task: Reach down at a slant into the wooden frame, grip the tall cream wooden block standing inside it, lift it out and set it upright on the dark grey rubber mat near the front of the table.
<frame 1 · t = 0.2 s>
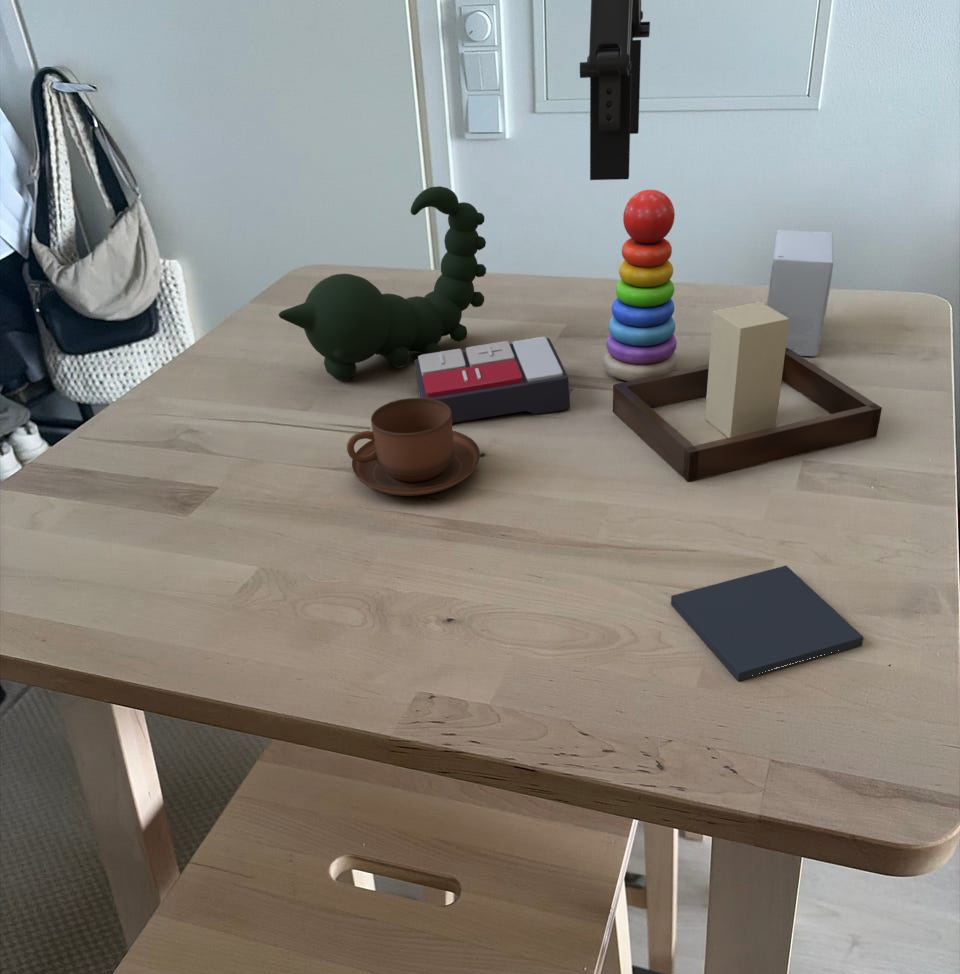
hand: (615, 154, 78), 27 cm above the table, tool pointing down, fingers open, 13 cm apart
stacking toy: (639, 371, 113), on the table
block: (744, 371, 98), in the wooden frame
cup and saucer: (418, 476, 97), on the table
mat: (763, 624, 76), on the table
cosmetics box: (791, 339, 117), on the table
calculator: (491, 398, 110), on the table
wooden frame: (739, 423, 101), on the table
toy figurine: (393, 363, 119), on the table
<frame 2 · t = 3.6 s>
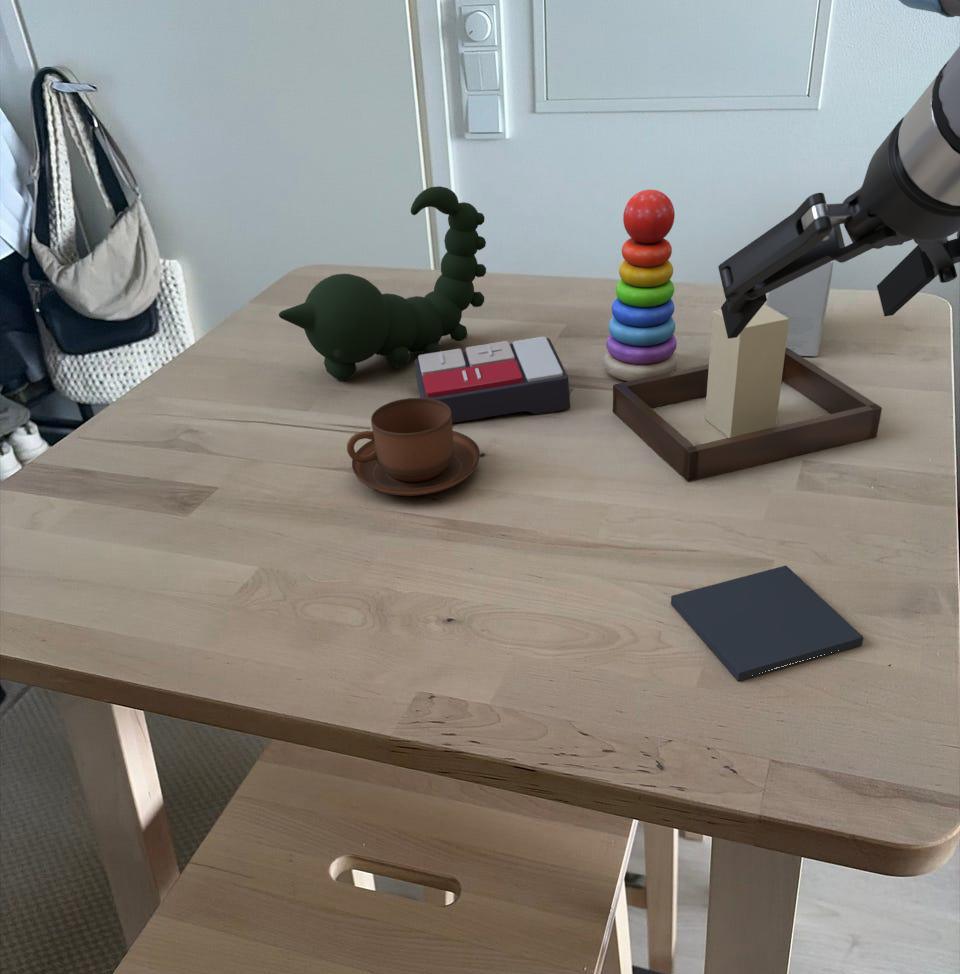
hand: (807, 311, 84), 15 cm above the table, tool tilted 45°, fingers open, 13 cm apart
nothing on the table moved.
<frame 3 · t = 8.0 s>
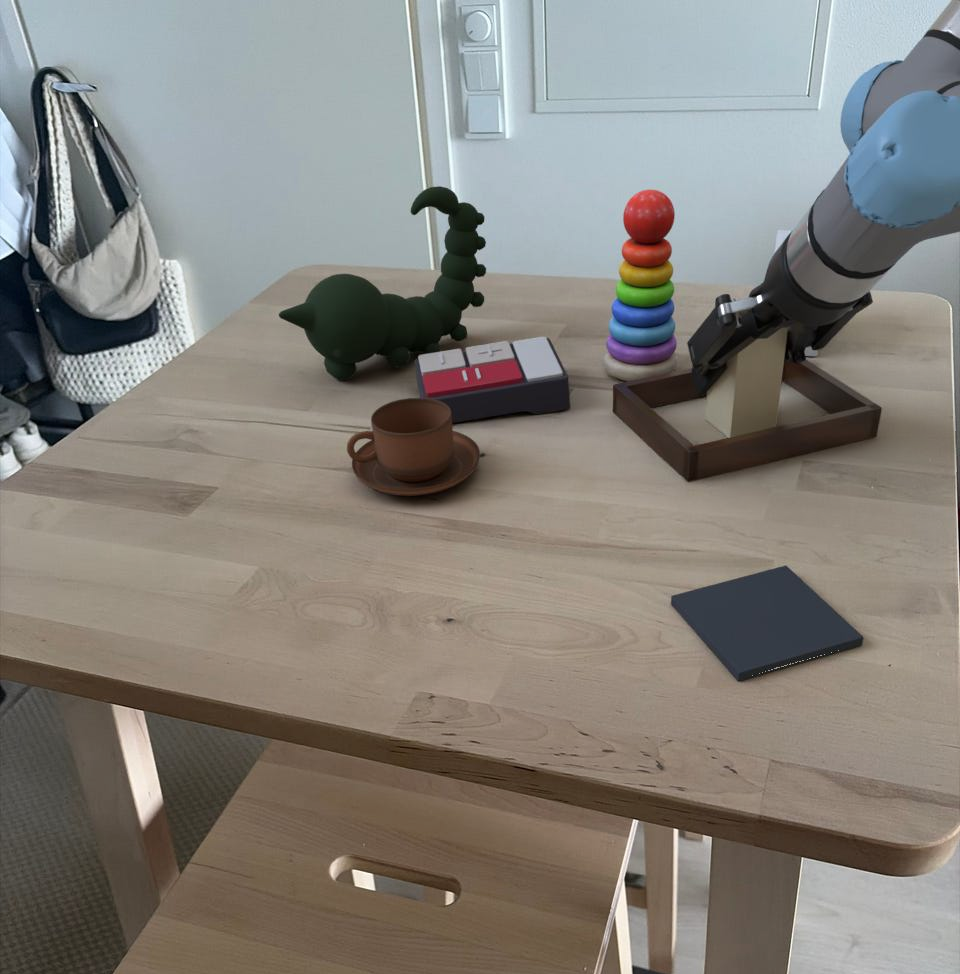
hand: (727, 377, 102), 3 cm above the table, tool tilted 45°, fingers closed on block, 5 cm apart
block: (745, 371, 98), in the wooden frame, touching gripper
everything else where it was.
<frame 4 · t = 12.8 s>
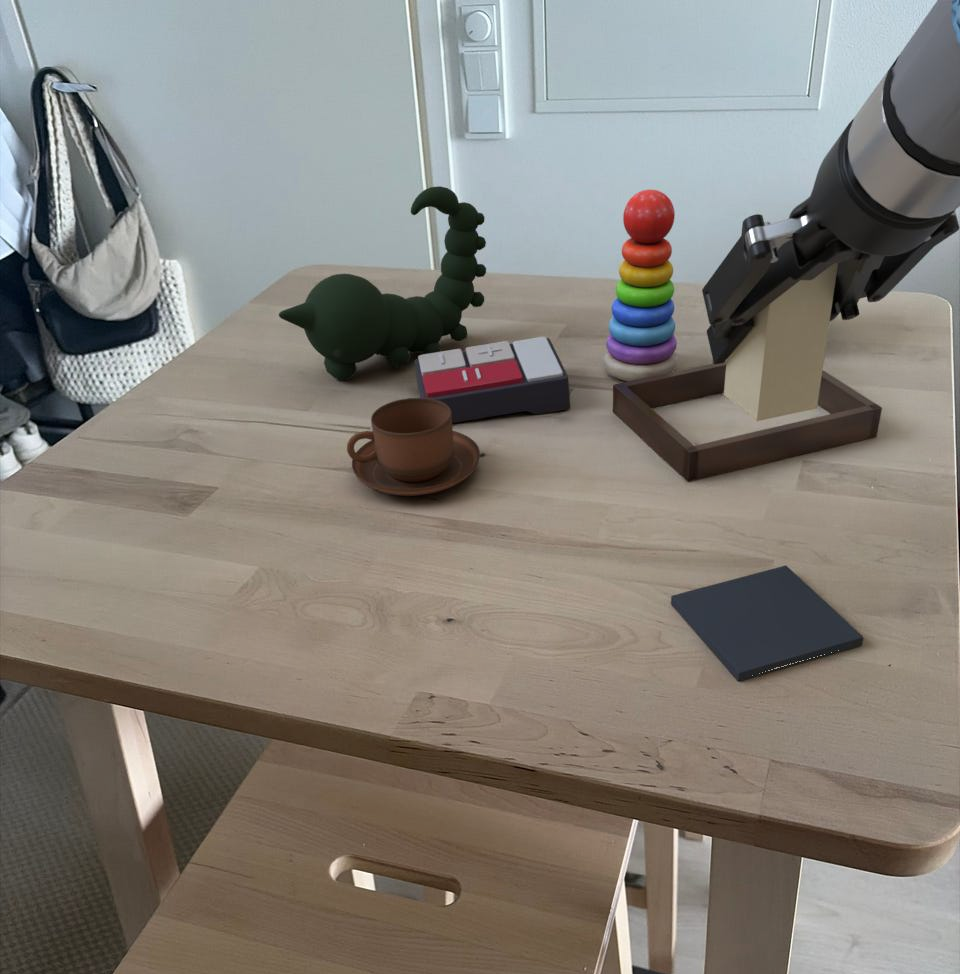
hand: (753, 341, 78), 16 cm above the table, tool tilted 45°, fingers closed on block, 5 cm apart
block: (777, 330, 74), point 18 cm above the table, touching gripper
everything else where it was.
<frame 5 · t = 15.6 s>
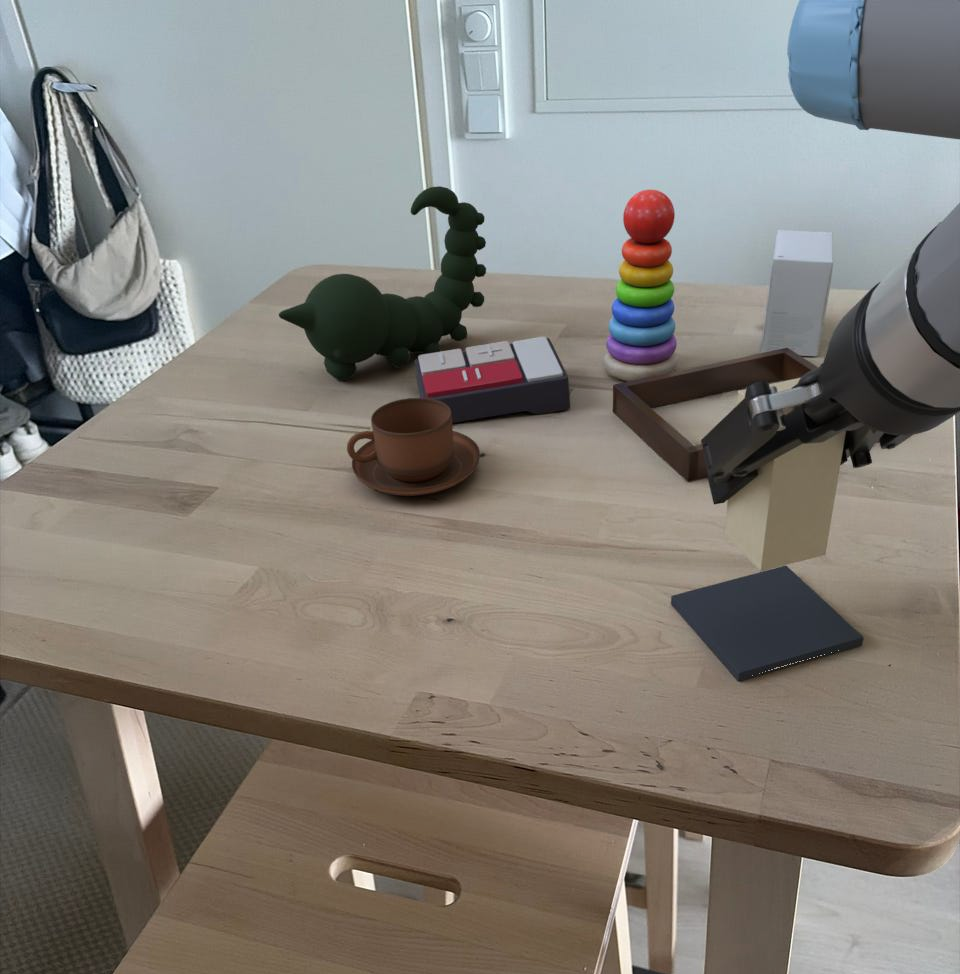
hand: (756, 478, 73), 10 cm above the table, tool tilted 45°, fingers closed on block, 5 cm apart
block: (782, 475, 68), point 12 cm above the table, touching gripper
everything else where it was.
when the fingers open (4 cm above the table, at t = 17.6 s): block stays where it is, resting on mat.
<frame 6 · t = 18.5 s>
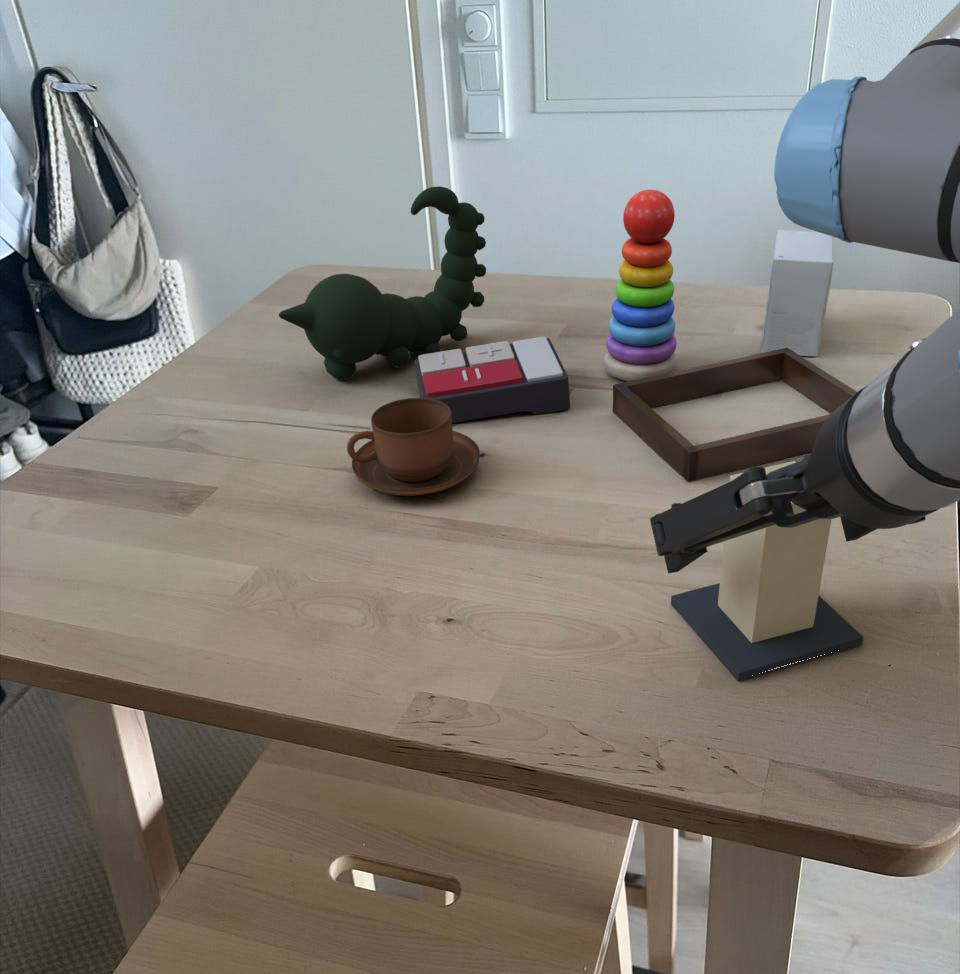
hand: (758, 538, 74), 6 cm above the table, tool tilted 45°, fingers open, 13 cm apart
block: (772, 553, 72), on the mat, point 6 cm above the table
everything else where it was.
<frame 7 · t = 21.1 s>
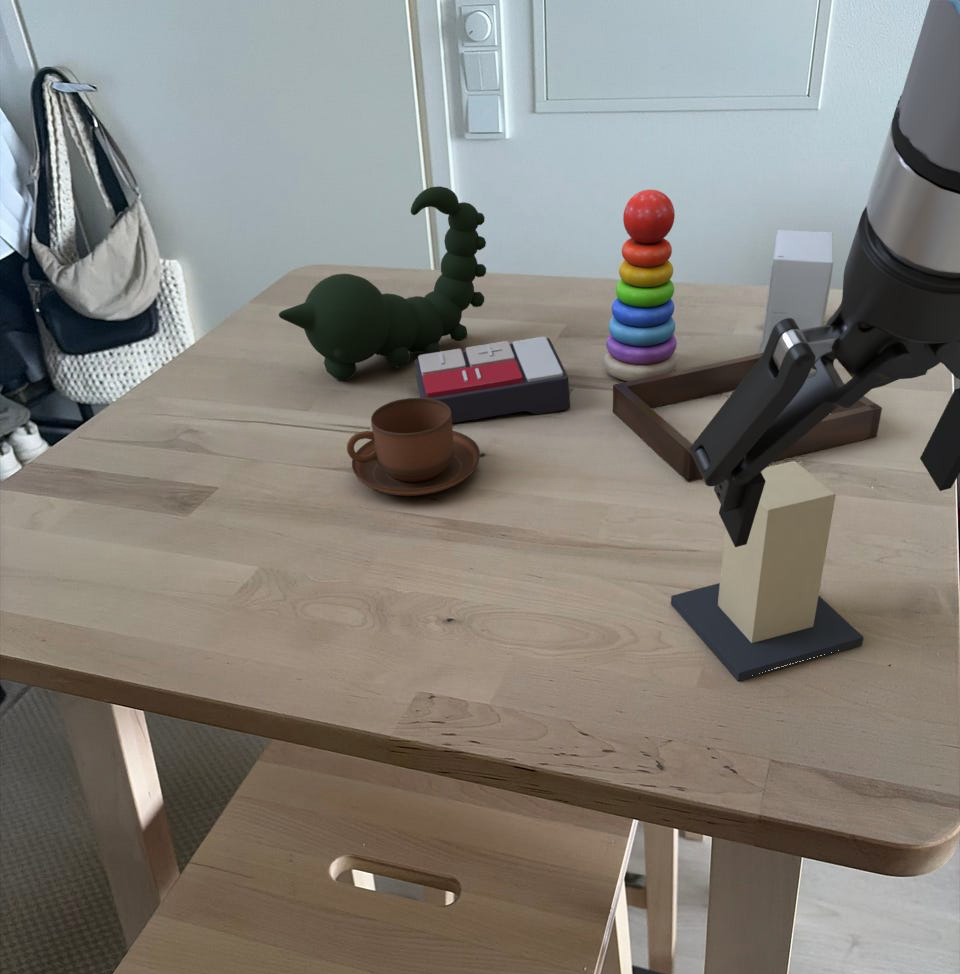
hand: (834, 501, 65), 13 cm above the table, tool tilted 25°, fingers open, 13 cm apart
nothing on the table moved.
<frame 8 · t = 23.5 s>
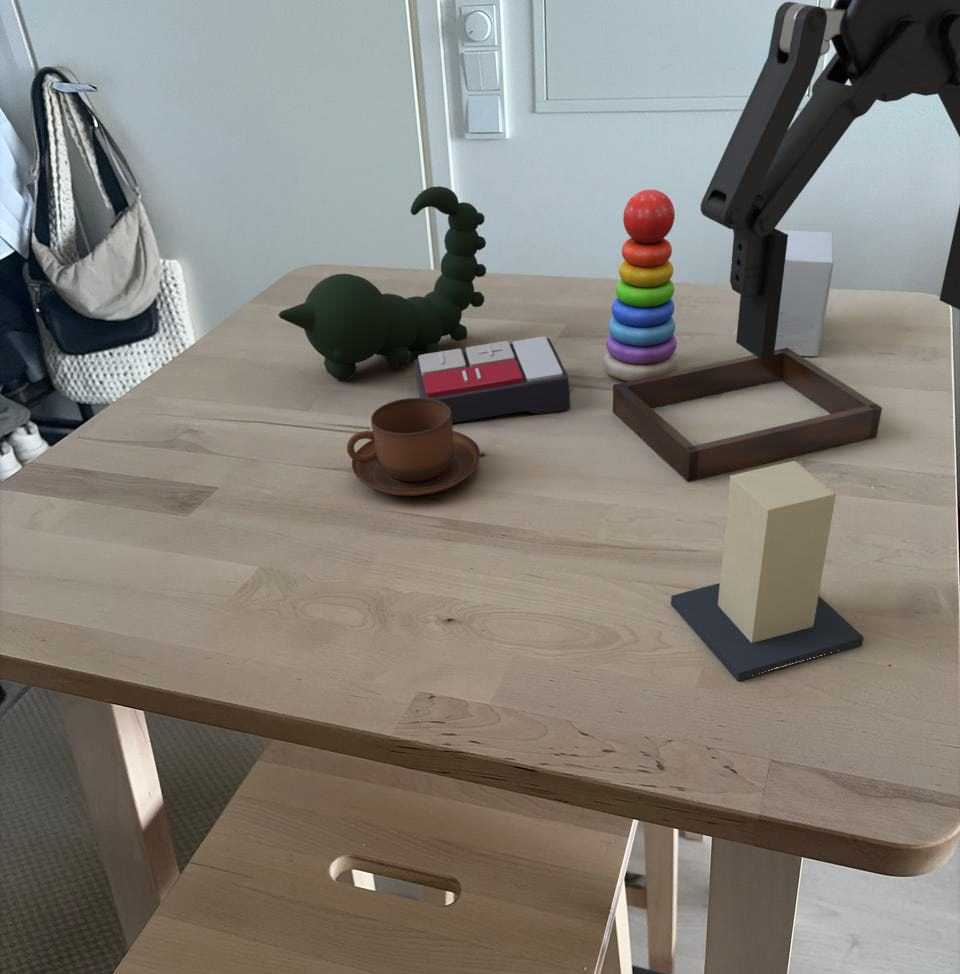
hand: (859, 328, 59), 24 cm above the table, tool pointing down, fingers open, 13 cm apart
nothing on the table moved.
at the end: block inside the target area on the mat (0.1 cm from its centre), point 6.3 cm above the mat's base; block tilted 0°; the gripper is holding nothing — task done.
